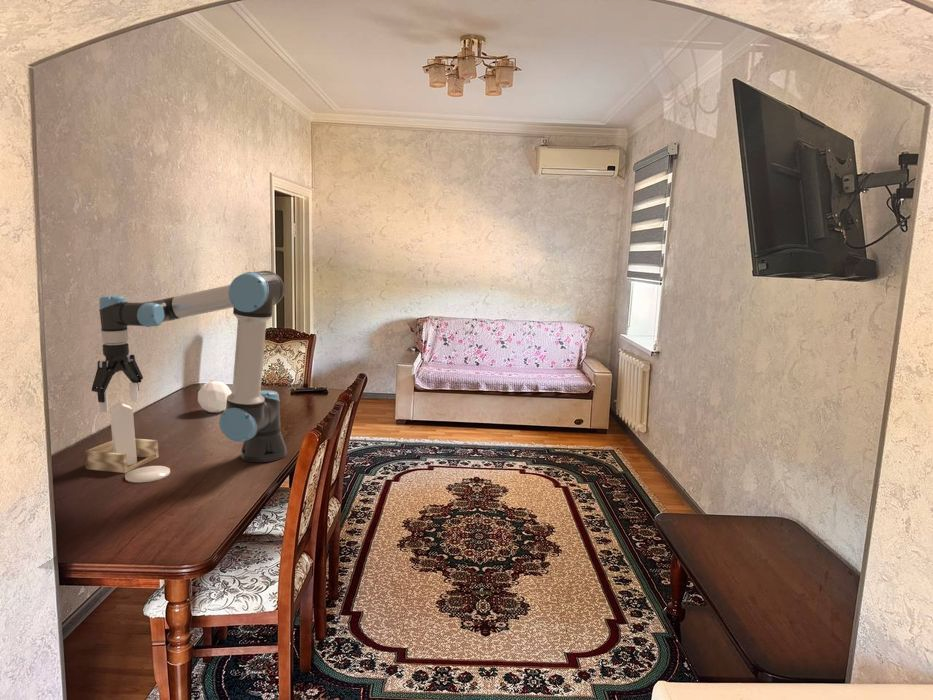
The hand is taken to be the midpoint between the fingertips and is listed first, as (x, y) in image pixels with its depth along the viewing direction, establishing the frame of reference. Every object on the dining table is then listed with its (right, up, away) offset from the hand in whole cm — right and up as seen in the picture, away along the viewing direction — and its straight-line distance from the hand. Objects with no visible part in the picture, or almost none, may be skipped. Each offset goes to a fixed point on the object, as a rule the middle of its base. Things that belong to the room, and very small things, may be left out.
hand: (120, 406), depth 216 cm
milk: (0, -19, +3) cm, 20 cm away
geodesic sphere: (+5, -8, +69) cm, 70 cm away
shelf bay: (-1, -19, +3) cm, 20 cm away
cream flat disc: (+13, -21, -8) cm, 26 cm away
